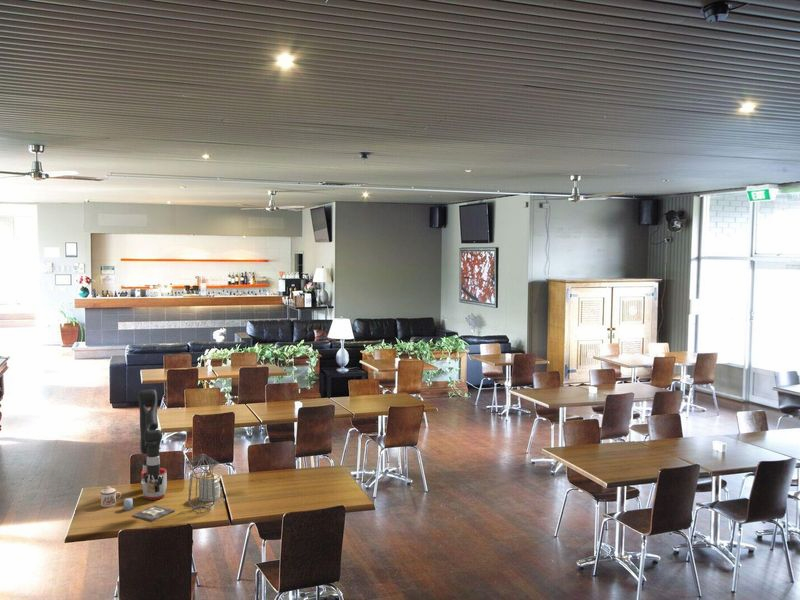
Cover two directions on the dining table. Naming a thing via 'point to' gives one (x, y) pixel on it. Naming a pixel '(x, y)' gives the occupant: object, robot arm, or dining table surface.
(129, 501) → the pale blue rounded ovoid
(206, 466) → the geometric lantern
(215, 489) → the jar
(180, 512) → the dining table surface
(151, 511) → the building board
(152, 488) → the walnut block
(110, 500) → the teacup with lid
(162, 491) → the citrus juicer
